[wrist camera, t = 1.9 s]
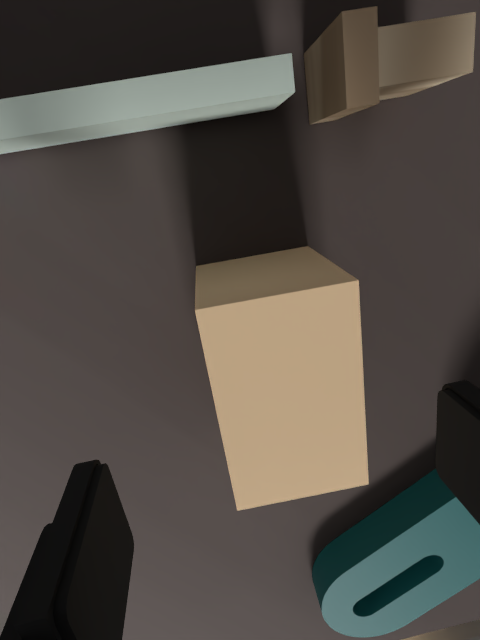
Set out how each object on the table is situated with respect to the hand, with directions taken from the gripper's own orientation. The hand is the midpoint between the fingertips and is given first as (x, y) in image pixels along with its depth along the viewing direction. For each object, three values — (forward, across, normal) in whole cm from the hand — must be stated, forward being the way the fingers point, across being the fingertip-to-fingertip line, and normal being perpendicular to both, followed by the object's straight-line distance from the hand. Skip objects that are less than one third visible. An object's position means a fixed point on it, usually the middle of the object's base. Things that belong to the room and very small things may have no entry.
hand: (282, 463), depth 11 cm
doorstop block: (+8, -1, 0) cm, 8 cm away
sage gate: (+8, +5, -9) cm, 13 cm away
